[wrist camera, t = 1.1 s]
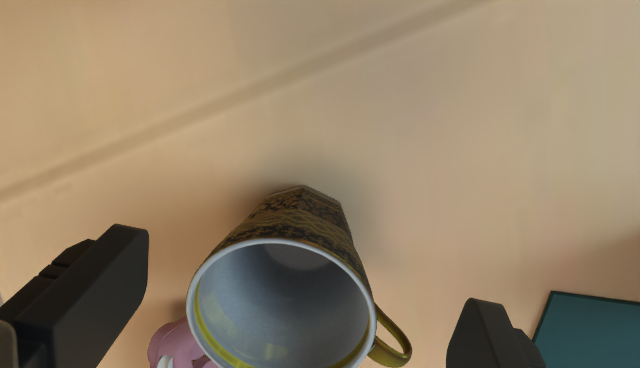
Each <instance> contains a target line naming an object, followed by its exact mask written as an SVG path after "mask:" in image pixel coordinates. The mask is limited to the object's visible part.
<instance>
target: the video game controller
mask: <svg viewBox="0 0 640 368" xmlns="http://www.w3.org/2000/svg"><path fill="white" fill-rule="evenodd" d="M204 354H205V353H204V352H203V350H202V349H201V348H200V346H199V345H198V343H197V342H196V340H195V338H194V336H193V334H192V332H191V329H190V327H189V324H188V320H187V315H186V316H184V317H183V318H181V319H179V320H177V321H176V322H170V323H167V324H165V325H163V326H162V327H160V328H159V329H158V330H157V331H156V332H155V334H154V335H153V337H152V339H151V341H150V344H149V348H148V359H149V362H150V363H151V365H150V368H218V366H217V365H216V364H215V363H214V362H213V361H212V360H211V359H209V358H207V357H204V356H203V355H204ZM195 359H196V360H195ZM192 360H195V362H194V363H193V364H192Z"/></svg>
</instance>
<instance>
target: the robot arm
mask: <svg viewBox="0 0 640 368" xmlns="http://www.w3.org/2000/svg"><path fill="white" fill-rule="evenodd" d="M148 251H149V234H148V231H147V230H145V229H140V228H135V227H131V226H126V225H121V224H114V225H112V226H111V227H110V228H109V229H108V230H107V231H106V232H105V233H104V234H103V235H102V236H101V237H99V238H98V239H97V240H91V239H87V240H84V241H82V242H80V243H78V244H76V245H73V246H71V247H69V248H67V249H66V250H64V251H63V252H62V253H61V254H60V255H59V256H58V257H57V258H55V259H54V260H53V261H52V263H51V265H48V266H46V267H45V268H44V269H43V270H42V271H41V272H40V273H39V275H38V276H35V277H34V278H33V279H32V280H31V281H29V282H28V283H27V284H26V285H25V286H24V287H23V288H22V289H20V290H19V291H18V292H17V293H16V294H15V295H14V296H13V297H11V298H10V299H9V300H8V301H7V302H6V303H5V304H3V305H2V306H1V307H0V368H96V367H97V366H98V364H99V363H100V361H101V360H102V359H103V357H104V356H105V354H106V353H107V351H108V350H109V349H110V347H111V346H112V344H113V343H114V341H115V340H116V339H117V337H118V336H119V334H120V333H121V331H122V330H123V328H124V327H125V326H126V324H127V323H128V321H129V320H130V318H131V317H132V316H133V314H134V313H135V311H136V310H137V308H138V307H139V305H140V304H141V302H142V300H143V297H144V294H145V291H146V287H147V280H148ZM446 368H546V364H545V362H544V360H543V358H542V356H541V353H540V351H539V349H538V347H537V346H536V345H535V344H534V343H533V342H532V341H531V340H530V338H529V337H528V336H527V335H526V334H525V333H524V332H523V331H522V330H521V329H516V328H513V326H512V324H511V322H510V320H509V317H508V315H507V313H506V310H505V308H504V306H503V305H502V304H498V303H494V302H489V301H484V300H479V299H474V298H469V299H468V300H467V301H466V303H465V305H464V307H463V310H462V312H461V315H460V318H459V320H458V323H457V325H456V328H455V330H454V333H453V335H452V338H451V340H450V343H449V346H448V349H447V355H446Z"/></svg>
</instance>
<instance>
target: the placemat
mask: <svg viewBox="0 0 640 368" xmlns="http://www.w3.org/2000/svg"><path fill="white" fill-rule="evenodd" d="M532 342H533V343H534V344H535V345H536V346H537V347H538V349H539V351H540V353H541V356H542V358H543V360H544V362H545V364H546V368H640V303H636V302H629V301H621V300H614V299H607V298H599V297H592V296H585V295H577V294H570V293H562V292H555V291H551V294H550V296H549V299H548V302H547V304H546V307H545V309H544V312H543V315H542V317H541V320H540V323H539V325H538V328H537V330H536V333H535V336H534V338H533V341H532Z"/></svg>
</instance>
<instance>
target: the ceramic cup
mask: <svg viewBox="0 0 640 368" xmlns="http://www.w3.org/2000/svg"><path fill="white" fill-rule="evenodd" d="M186 315H187V320H188V324H189V327H190V329H191V332H192V334H193V336H194V338H195V340H196V342H197V343H198V345H199V346H200V348H201V349H202V350H203V352H204V353H205V354H206V355H207V356H208V357H209V358H210V359H211V360H212V361H213V362H214V363H215V364H216V365H218V366H219V367H220V368H357V367H358V366H359V365H360V364H361V362H362V361H363V360H364V359H365V357H366V356H368V357H370V358H371V359H372V360H374V361H375V362H377V363H379V364H381V365H383V366H387V367H392V368H398V367H402V366H404V365H405V364H406V363H407V362H408V361H409V360H410V358H411V355H412V347H411V344H410V342H409V340H408V338H407V337H406V335H405V334H404V333H403V332H402V330H401V329H400V328H399V327H398V326H397V325H396V324H395V323H394V322H393V321H392V320H391V319H390V318H389V317H387V316H386V315H385V314H384V313H383V312H382V310H381V309H380V308H379V307H378V306H377V305H376V303H375V302H374V299H373V295H372V291H371V288H370V285H369V282H368V279H367V276H366V273H365V270H364V267H363V265H362V262H361V260H360V258H359V255H358V253H357V251H356V249H355V247H354V244H353V240H352V236H351V232H350V229H349V226H348V223H347V220H346V218H345V215H344V212H343V209H342V207H341V204H340V202H339V201H337V200H335V199H333V198H331V197H329V196H327V195H325V194H323V193H321V192H319V191H316V190H314V189H312V188H310V187H308V186H305V185H303V186H299V187H295V188H292V189H288V190H285V191H281V192H278V193H274V194H271V195H269V196H268V197H267V198H266V199H264V201H263V202H262V203H261V204H260V205H259V206H258V207H257V208H256V209H255V210H254V211H253V212H252V213H251V214H250V215H249V216H248V217H247V218H246V219H245V220H244V221H243V223H241V224H240V225H239V226H237V227H236V228H235V229H234V230H233V231H232V232H230V233H229V234H228V235H227V236H226V237H225V238H224V239H223V240H222V241H221V242H220V243H219V244H218V245H217V247H216V248H215V249H214V250H213V251H212V252H211V253H210V255H209V256H208V257H207V258H206V259H205V261H204V262H203V263H202V264H201V265H200V267H199V268H198V269H197V271H196V272H195V274H194V276H193V278H192V280H191V282H190V285H189V288H188V292H187V297H186ZM377 320H378V321H379V322H380V323H381V324H382V325H383V326H384V327H385V328H386V329H387V330H388V331H389V332H390V333H391V334H392V335H393V336H394V337H395V338H396V340H397V341H398V342H399V344H400V345H401V347H402V349H403V352H404V354H402V353H399V352H397V351H396V350H394V349H392V348H391V347H390V346H388V345H387V344H386V343H384V342H383V341H382V340H380V339H379V338H378V337H377V336H376V335H375V334H376V329H377Z"/></svg>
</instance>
